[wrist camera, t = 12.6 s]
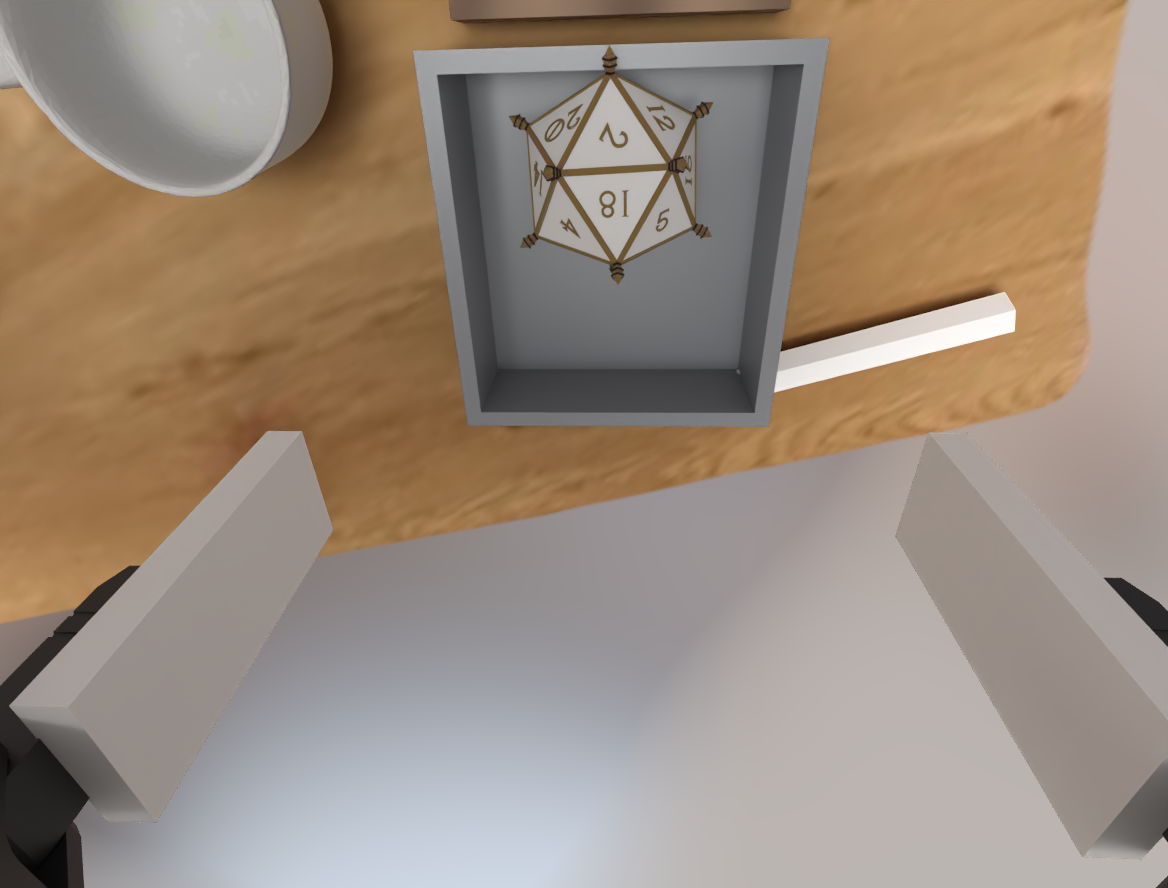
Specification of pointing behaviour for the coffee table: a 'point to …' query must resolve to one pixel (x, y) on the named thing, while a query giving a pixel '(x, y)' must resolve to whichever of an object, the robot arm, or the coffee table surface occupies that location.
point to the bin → (653, 280)
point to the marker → (896, 341)
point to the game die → (613, 171)
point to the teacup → (173, 83)
